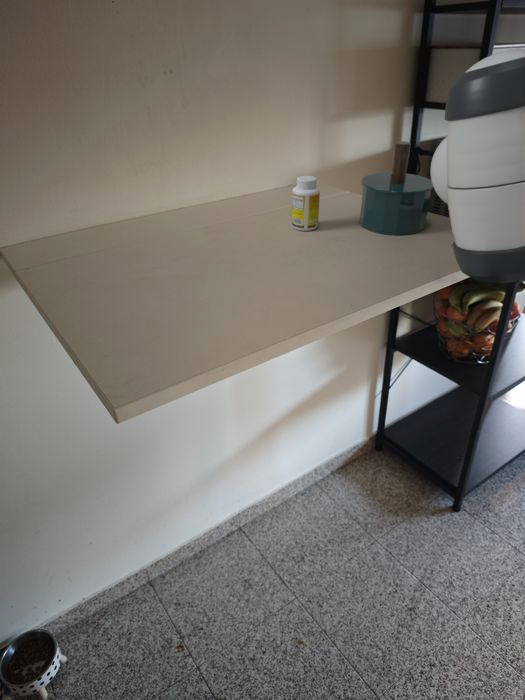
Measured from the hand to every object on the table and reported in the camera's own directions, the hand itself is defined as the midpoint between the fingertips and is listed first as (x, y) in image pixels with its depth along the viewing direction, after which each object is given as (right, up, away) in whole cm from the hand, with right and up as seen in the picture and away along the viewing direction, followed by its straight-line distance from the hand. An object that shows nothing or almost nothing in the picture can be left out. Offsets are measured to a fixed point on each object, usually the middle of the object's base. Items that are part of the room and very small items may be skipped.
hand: (479, 92), depth 88 cm
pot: (-10, -18, +20) cm, 29 cm away
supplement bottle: (-29, -19, +18) cm, 40 cm away
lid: (-10, -11, +15) cm, 21 cm away
